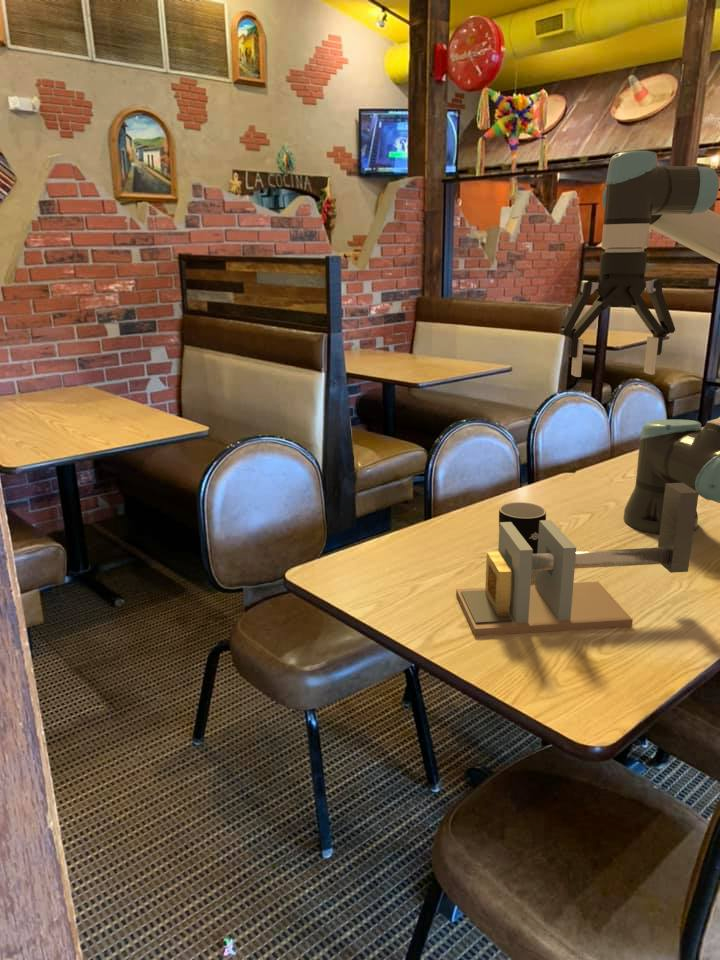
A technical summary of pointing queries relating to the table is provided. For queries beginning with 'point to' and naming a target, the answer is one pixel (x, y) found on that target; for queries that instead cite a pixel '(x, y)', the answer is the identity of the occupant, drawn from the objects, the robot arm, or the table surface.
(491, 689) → the table surface
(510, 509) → the mug
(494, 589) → the ring
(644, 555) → the shaft
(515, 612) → the bearing block
